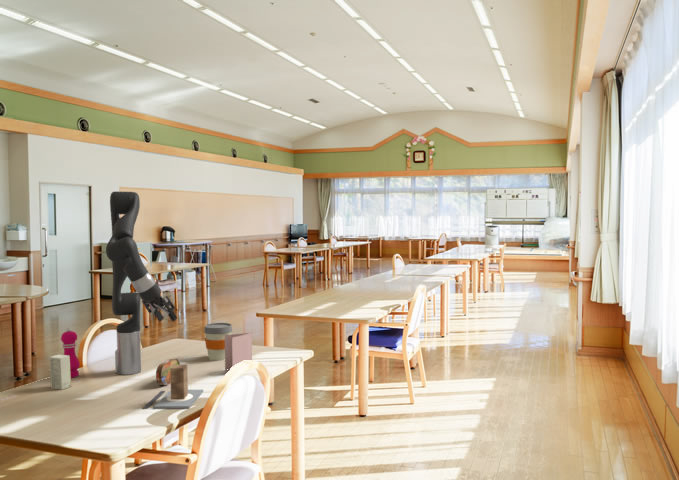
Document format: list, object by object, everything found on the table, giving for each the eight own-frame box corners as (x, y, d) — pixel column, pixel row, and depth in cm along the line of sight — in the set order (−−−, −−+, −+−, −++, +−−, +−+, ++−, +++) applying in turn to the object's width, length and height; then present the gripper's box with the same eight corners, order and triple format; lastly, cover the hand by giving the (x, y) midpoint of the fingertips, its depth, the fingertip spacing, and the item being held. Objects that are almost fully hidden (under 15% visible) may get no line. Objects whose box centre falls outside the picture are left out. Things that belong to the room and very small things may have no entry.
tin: (162, 388, 211) (161, 366, 211) (154, 387, 212) (154, 365, 211) (181, 376, 226) (180, 356, 225) (174, 376, 226) (173, 356, 226)
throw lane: (142, 408, 189) (142, 405, 189) (161, 391, 207) (161, 389, 207) (189, 408, 188) (189, 405, 188) (203, 391, 206) (203, 389, 206)
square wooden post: (171, 399, 195) (170, 368, 195) (175, 395, 200) (174, 364, 199) (184, 399, 195) (183, 368, 195) (187, 395, 200) (187, 364, 199)
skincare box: (71, 386, 213) (70, 355, 213) (61, 390, 209) (60, 358, 209) (60, 384, 216) (59, 353, 215) (49, 388, 212) (48, 356, 211)
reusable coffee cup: (229, 361, 249) (228, 328, 248) (201, 361, 249) (200, 328, 249) (235, 354, 262) (234, 322, 261) (208, 354, 262) (207, 322, 261)
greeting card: (251, 367, 240) (251, 332, 239) (255, 371, 233) (254, 335, 232) (224, 369, 236) (224, 334, 235) (227, 374, 229) (227, 338, 228)
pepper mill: (60, 379, 223) (59, 330, 222) (60, 375, 229) (58, 326, 228) (80, 377, 226) (79, 328, 225) (79, 372, 233) (78, 325, 232)
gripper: (164, 279, 205) (186, 313, 212) (142, 280, 214) (163, 313, 220) (149, 291, 200) (173, 326, 206) (127, 292, 209) (150, 326, 215)
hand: (168, 319), depth 213 cm, fingers open, 8 cm apart
